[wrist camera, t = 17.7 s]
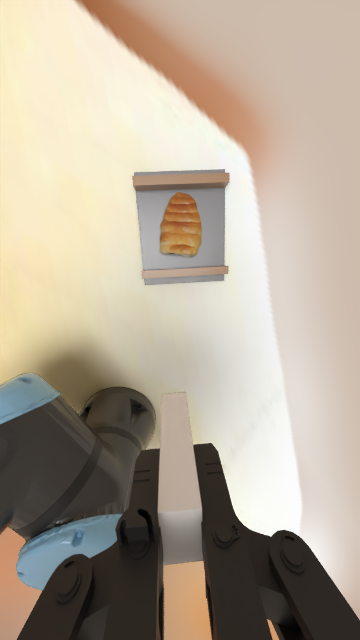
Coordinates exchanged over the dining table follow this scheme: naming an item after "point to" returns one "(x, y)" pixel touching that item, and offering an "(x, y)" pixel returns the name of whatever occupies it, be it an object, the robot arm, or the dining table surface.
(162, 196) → the pastry holder
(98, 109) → the dining table surface
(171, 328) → the dining table surface
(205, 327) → the dining table surface
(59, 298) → the dining table surface
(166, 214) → the pastry
